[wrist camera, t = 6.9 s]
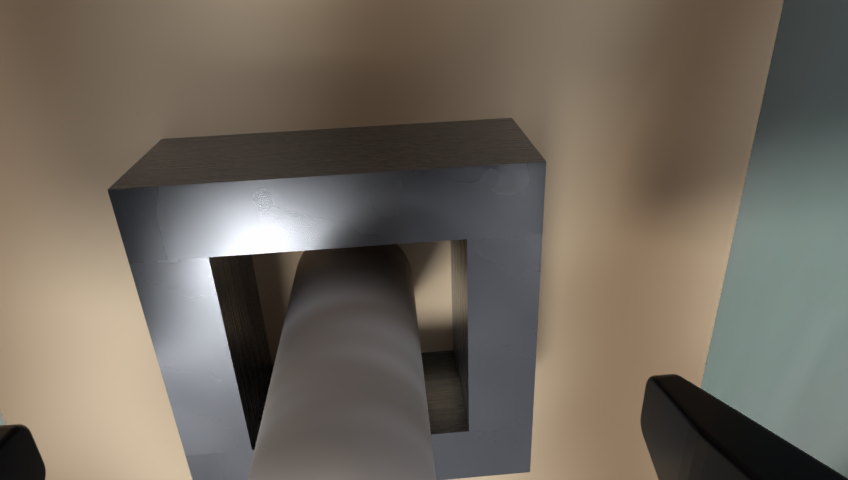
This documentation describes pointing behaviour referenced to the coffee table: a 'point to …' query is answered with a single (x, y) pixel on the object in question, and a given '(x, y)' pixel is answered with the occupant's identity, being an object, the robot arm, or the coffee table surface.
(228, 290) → the collar
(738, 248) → the coffee table surface
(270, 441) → the wooden peg base
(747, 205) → the coffee table surface
